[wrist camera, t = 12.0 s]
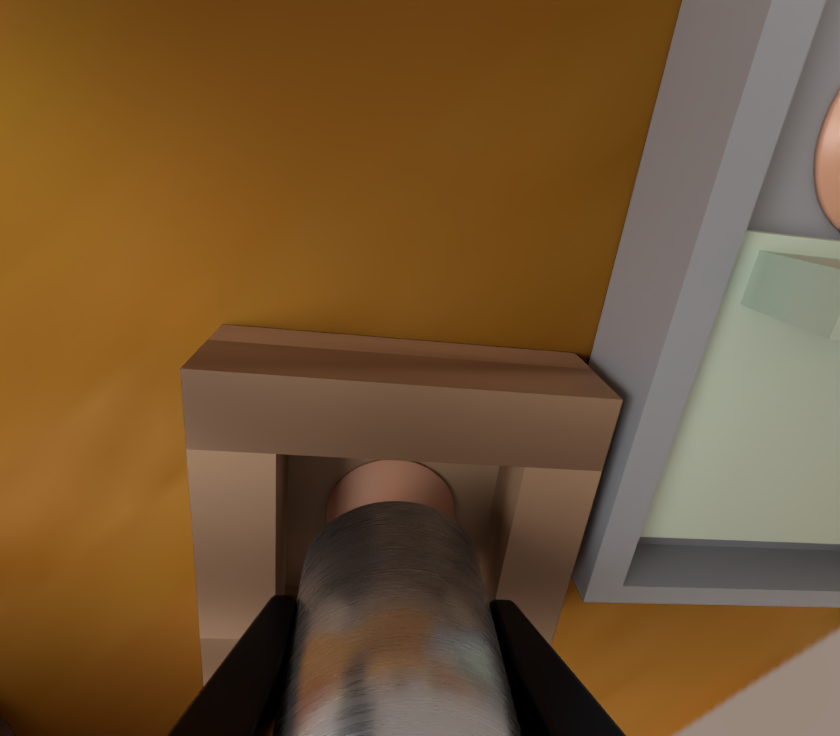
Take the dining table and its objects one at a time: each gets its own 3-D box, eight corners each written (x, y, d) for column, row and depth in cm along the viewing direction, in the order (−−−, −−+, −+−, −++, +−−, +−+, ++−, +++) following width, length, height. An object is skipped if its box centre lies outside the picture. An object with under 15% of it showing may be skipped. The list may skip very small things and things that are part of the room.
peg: (305, 496, 9) (216, 909, 4) (490, 504, 10) (617, 889, 5) (301, 633, 10) (230, 1075, 5) (464, 636, 11) (538, 1048, 6)
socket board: (222, 324, 11) (180, 368, 9) (574, 353, 12) (622, 399, 9) (232, 600, 14) (203, 688, 12) (513, 606, 15) (538, 688, 12)
